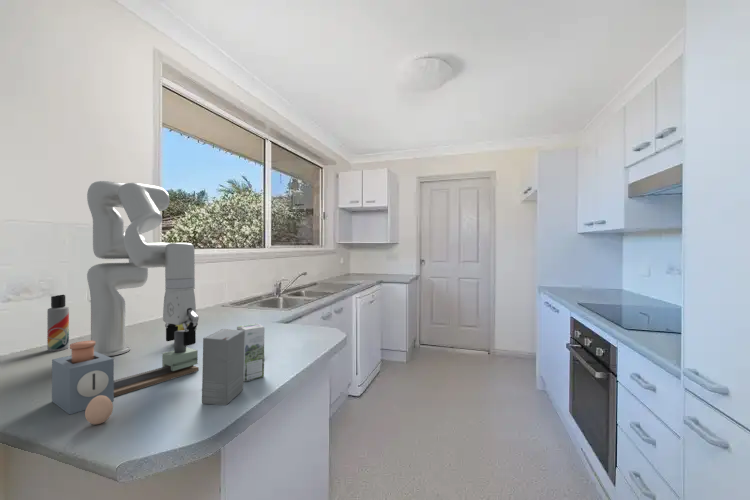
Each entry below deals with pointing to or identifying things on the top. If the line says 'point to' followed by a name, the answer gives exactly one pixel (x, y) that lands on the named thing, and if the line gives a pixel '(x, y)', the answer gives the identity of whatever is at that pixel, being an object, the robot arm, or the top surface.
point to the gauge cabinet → (81, 381)
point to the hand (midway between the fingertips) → (180, 342)
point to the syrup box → (253, 351)
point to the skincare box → (222, 366)
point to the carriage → (179, 354)
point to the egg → (99, 409)
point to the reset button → (82, 351)
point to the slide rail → (149, 378)
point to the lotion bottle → (57, 324)
